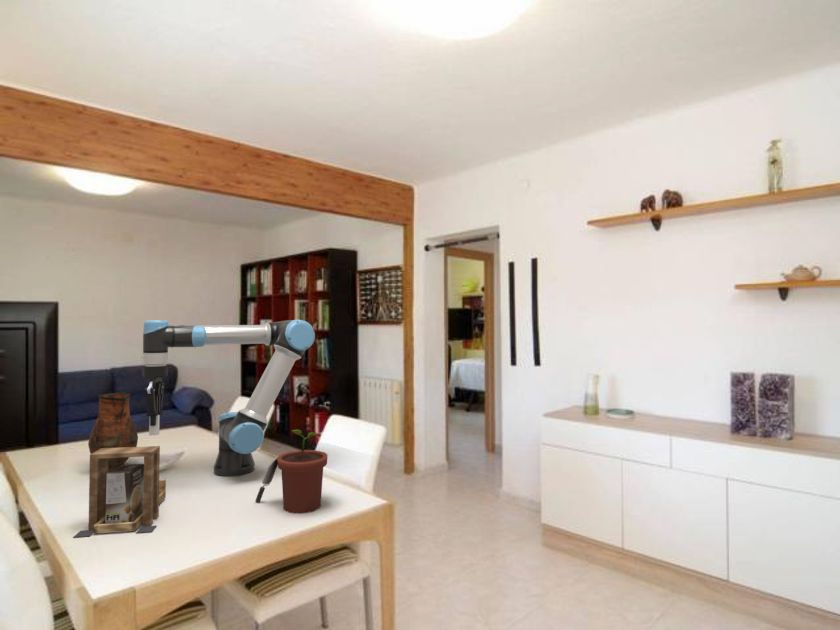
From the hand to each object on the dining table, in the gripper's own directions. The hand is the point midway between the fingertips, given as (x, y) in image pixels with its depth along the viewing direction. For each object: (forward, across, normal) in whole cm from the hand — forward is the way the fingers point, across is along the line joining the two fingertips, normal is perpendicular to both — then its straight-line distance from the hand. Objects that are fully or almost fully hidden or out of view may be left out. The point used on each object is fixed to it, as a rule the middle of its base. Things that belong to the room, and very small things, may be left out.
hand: (154, 434), depth 165 cm
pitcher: (+21, -34, -26) cm, 47 cm away
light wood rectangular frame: (+20, +18, 0) cm, 27 cm away
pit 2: (+20, +30, +8) cm, 37 cm away
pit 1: (+20, +30, -8) cm, 37 cm away
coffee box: (+21, +24, 0) cm, 32 cm away
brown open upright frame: (+20, +24, 0) cm, 31 cm away
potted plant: (+21, +18, +48) cm, 55 cm away
